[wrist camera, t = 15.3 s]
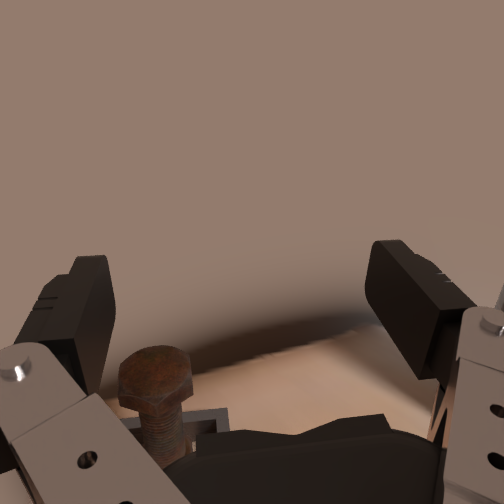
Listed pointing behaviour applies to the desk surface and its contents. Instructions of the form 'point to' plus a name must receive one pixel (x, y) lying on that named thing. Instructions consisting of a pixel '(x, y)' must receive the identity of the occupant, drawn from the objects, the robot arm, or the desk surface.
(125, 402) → the bolt
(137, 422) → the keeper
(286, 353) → the desk surface
